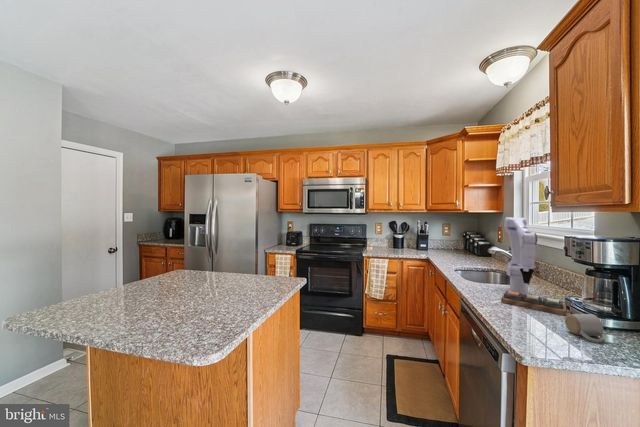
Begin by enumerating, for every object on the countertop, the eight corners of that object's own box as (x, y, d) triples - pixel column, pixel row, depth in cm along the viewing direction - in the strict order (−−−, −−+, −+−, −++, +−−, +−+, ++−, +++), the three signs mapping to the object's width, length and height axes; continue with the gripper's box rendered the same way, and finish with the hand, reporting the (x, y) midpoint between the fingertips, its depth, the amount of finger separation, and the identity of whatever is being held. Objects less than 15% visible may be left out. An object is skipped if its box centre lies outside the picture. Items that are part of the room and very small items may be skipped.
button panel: (501, 302, 135) (501, 294, 135) (504, 296, 144) (504, 289, 144) (565, 315, 119) (566, 306, 119) (565, 308, 128) (565, 300, 128)
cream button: (526, 301, 131) (526, 296, 131) (527, 298, 135) (527, 294, 135) (538, 303, 128) (538, 298, 128) (538, 301, 132) (538, 296, 132)
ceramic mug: (562, 329, 106) (563, 309, 105) (585, 330, 105) (586, 311, 104) (585, 342, 95) (587, 321, 95) (611, 344, 94) (613, 323, 94)
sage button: (546, 304, 126) (546, 299, 126) (546, 302, 130) (546, 297, 130) (559, 307, 123) (559, 302, 123) (558, 304, 127) (559, 299, 127)
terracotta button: (507, 297, 136) (507, 292, 136) (508, 295, 140) (509, 290, 139) (518, 299, 133) (518, 294, 133) (519, 297, 137) (519, 292, 137)
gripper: (519, 254, 145) (518, 279, 145) (516, 257, 134) (515, 284, 134) (535, 255, 140) (534, 281, 140) (534, 259, 129) (533, 287, 129)
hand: (526, 283), depth 137 cm, fingers closed
